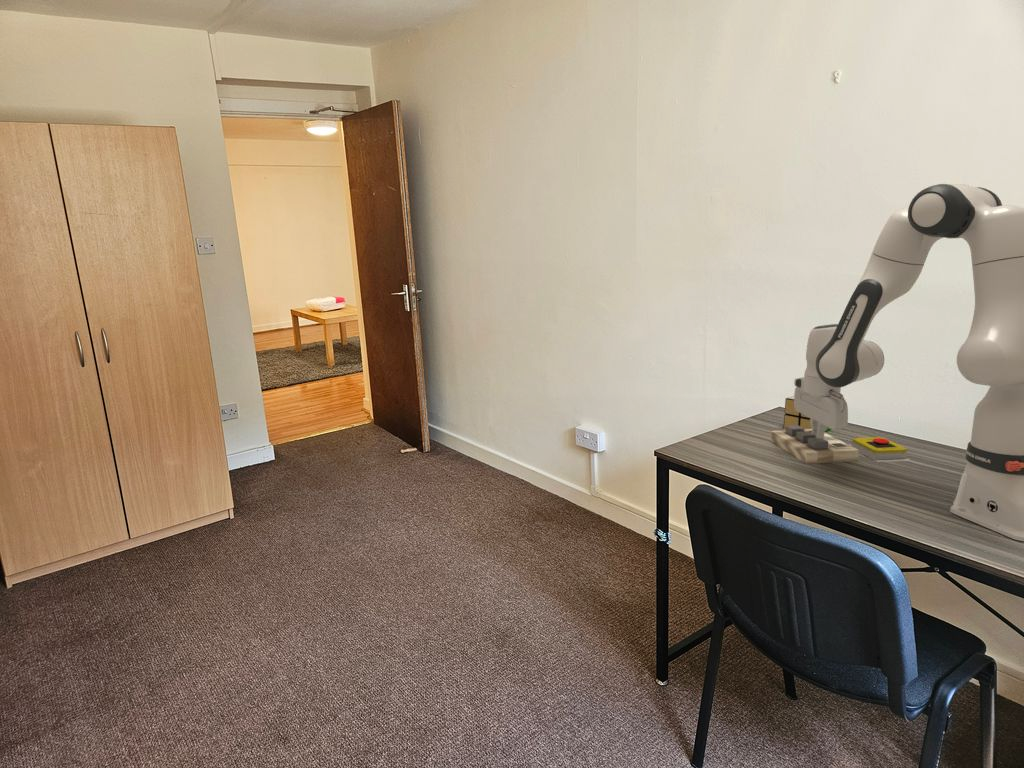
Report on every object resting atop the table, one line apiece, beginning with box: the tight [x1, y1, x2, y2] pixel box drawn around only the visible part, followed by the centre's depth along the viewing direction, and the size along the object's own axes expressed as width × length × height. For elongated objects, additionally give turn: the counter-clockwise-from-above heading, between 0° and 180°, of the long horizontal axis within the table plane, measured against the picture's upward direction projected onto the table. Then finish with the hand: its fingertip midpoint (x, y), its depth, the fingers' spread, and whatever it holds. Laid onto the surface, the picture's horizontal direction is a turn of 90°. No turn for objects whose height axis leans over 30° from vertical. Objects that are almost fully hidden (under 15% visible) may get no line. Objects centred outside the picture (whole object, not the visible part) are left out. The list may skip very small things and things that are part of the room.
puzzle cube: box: [783, 395, 831, 432], centre depth 202 cm, size 10×10×10 cm
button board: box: [770, 429, 860, 465], centre depth 183 cm, size 20×14×3 cm
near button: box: [807, 438, 828, 450], centre depth 177 cm, size 4×4×3 cm
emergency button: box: [848, 436, 911, 463], centre depth 180 cm, size 9×4×15 cm
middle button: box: [796, 431, 816, 443], centre depth 183 cm, size 4×4×3 cm
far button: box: [785, 425, 804, 437], centre depth 189 cm, size 4×4×3 cm
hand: (817, 436), depth 177 cm, fingers closed
